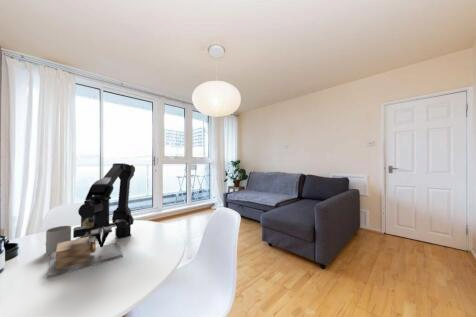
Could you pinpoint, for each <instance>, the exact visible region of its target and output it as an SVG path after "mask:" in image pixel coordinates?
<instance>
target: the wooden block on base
mask: <svg viewBox="0 0 476 317" xmlns="http://www.w3.org/2000/svg"><path fill="white" fill-rule="evenodd" d="M123 256H124V254H123V252H122V250H121V248H120V247H119V245H118V243H117V242H112V243H108V244H105V245H103V247H100V245H98V246H96V249H95V252H93V253H90V237H85V238H81V237H80V238H76V239H71V241H66V242H61V243H57V249H56V259H52V260H51V259H50V262H49V267H48V270H47V276H46V278H47V279H50V278H54V277H57V276H60V275H64V274H67V273H70V272H71V273H72V272H75V271H78V270H81V269H85V268H89V267H91V266H95V265H99V264H102V263H105V262H106V263H107V262H109V261H112V260H116V259H119V258H123Z"/></svg>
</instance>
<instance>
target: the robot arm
mask: <svg viewBox="0 0 476 317" xmlns="http://www.w3.org/2000/svg"><path fill="white" fill-rule="evenodd" d="M135 172H136V167H135V166H134V165H133V164H127V163H125V162H114V163H113V164H112V167H111V168H110V169H109V170H108V171H107V172H106V174H105V175H104V176H103V177H102V178H100V179H98V180H96V181H95V182H93V183H92V185H91V186H90V187H89V190H88V192H87V194H86V196H85V198H84V200H83V204H81V205H80V206H79V208H78V210H77V212H78V215H79V216H80V218H81V217H82V218H88V223H93V227H88V228H86V226H81V225H80V226H76V227H74V228H73V229H72V230H73V234H72V235H73V238H74V239H75V238H76V239H77V238H81V236H84V235H85V234H86V232H91V236H93V237H95V239H96V241H97V243H98V246H100V247H103V245H104V244H105V242H106V240H107V238H108V236H109V234H111V233H112V232H113V228H114V232H115V233H114V235H115V238H116V239H117V240H119V239H124V238H127V237H131V236H132V234H131V225H134V221H135V220H134V217H133V215H132V210H131V209H130V207H129V197H130V185H131V179H133V177H134V175H135ZM118 178H119V180H120V181H119V190H118V191H119V192H118V202H117V207H116V209H114V210H113V211H112V217H111V221H112V222H111V223H110V200H111V199H112V197H111V195H112V193H113V191H114V189H115V188H114V184H115V182H116V181H117V179H118ZM101 229H102V234H101V235H102V236H101V235H100V232H99V230H101Z"/></svg>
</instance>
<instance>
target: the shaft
mask: <svg viewBox="0 0 476 317" xmlns="http://www.w3.org/2000/svg"><path fill="white" fill-rule="evenodd" d="M89 241H90V240H89ZM96 247H97V246H96V240H91V241H90V253H93V252H95V249H96ZM52 259H56V252H54V253H51V255H50V260H52Z"/></svg>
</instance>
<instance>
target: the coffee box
mask: <svg viewBox="0 0 476 317" xmlns="http://www.w3.org/2000/svg"><path fill="white" fill-rule="evenodd" d="M80 226H86V228H88V227H93V223H88V218H82V217H81V216H80ZM99 232H100V236H101V235H102V233H103V229H101V230H99ZM85 237H89V238H91V237H94V236H91V232H86V234H85V235H84V236H81V237H80V239H81V238H85Z"/></svg>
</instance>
